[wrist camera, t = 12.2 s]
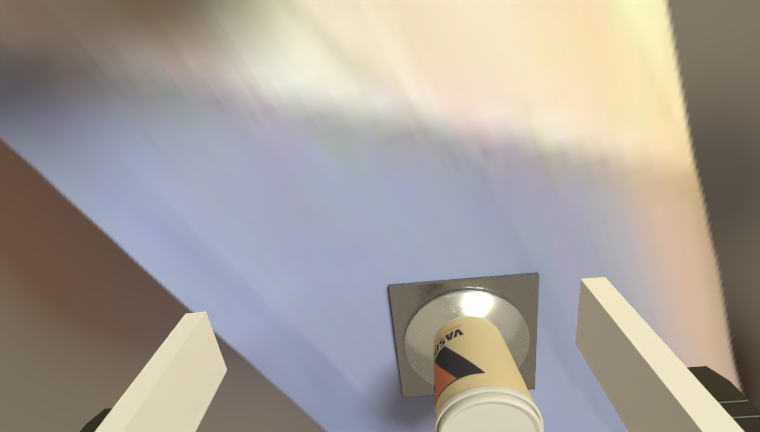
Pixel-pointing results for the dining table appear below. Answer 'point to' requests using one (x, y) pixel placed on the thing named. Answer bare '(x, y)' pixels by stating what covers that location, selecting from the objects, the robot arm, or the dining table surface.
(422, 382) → the flange plate
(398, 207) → the dining table surface
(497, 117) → the dining table surface
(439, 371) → the coffee cup
